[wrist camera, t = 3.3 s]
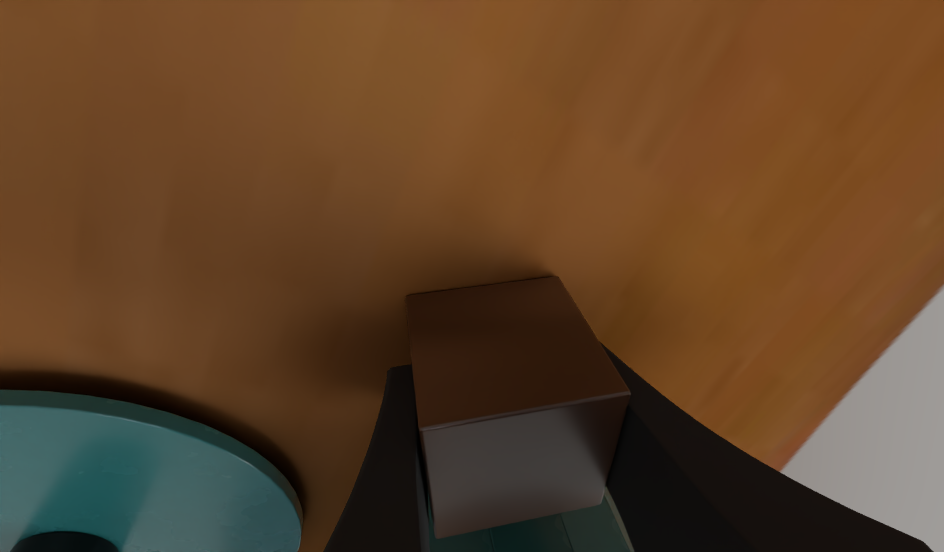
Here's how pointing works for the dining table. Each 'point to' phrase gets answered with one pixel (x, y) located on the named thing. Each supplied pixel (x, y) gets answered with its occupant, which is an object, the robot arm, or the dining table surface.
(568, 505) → the block
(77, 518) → the lid
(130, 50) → the dining table surface
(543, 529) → the tin
